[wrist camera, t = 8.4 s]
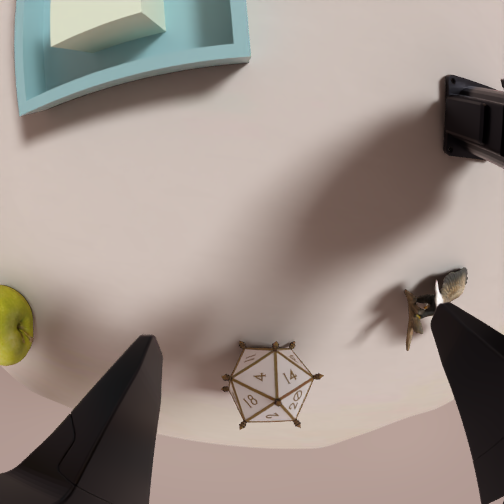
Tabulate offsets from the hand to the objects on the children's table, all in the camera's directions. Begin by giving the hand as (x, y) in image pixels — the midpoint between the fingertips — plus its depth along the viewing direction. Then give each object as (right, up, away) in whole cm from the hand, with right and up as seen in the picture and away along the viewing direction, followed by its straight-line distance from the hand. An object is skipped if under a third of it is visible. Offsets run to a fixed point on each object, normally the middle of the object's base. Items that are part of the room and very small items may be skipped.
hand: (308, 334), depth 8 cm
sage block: (-9, +17, +4) cm, 20 cm away
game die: (0, -7, +20) cm, 21 cm away
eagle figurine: (+17, -2, +17) cm, 24 cm away
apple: (-27, -3, +15) cm, 31 cm away
